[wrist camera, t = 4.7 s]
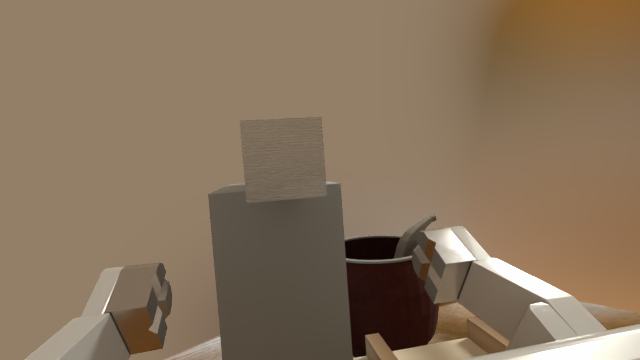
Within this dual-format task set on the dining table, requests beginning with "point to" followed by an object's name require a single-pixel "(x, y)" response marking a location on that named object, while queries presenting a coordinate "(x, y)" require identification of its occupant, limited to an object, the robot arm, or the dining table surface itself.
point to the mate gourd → (388, 291)
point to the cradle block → (441, 346)
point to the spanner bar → (283, 159)
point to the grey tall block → (281, 276)
